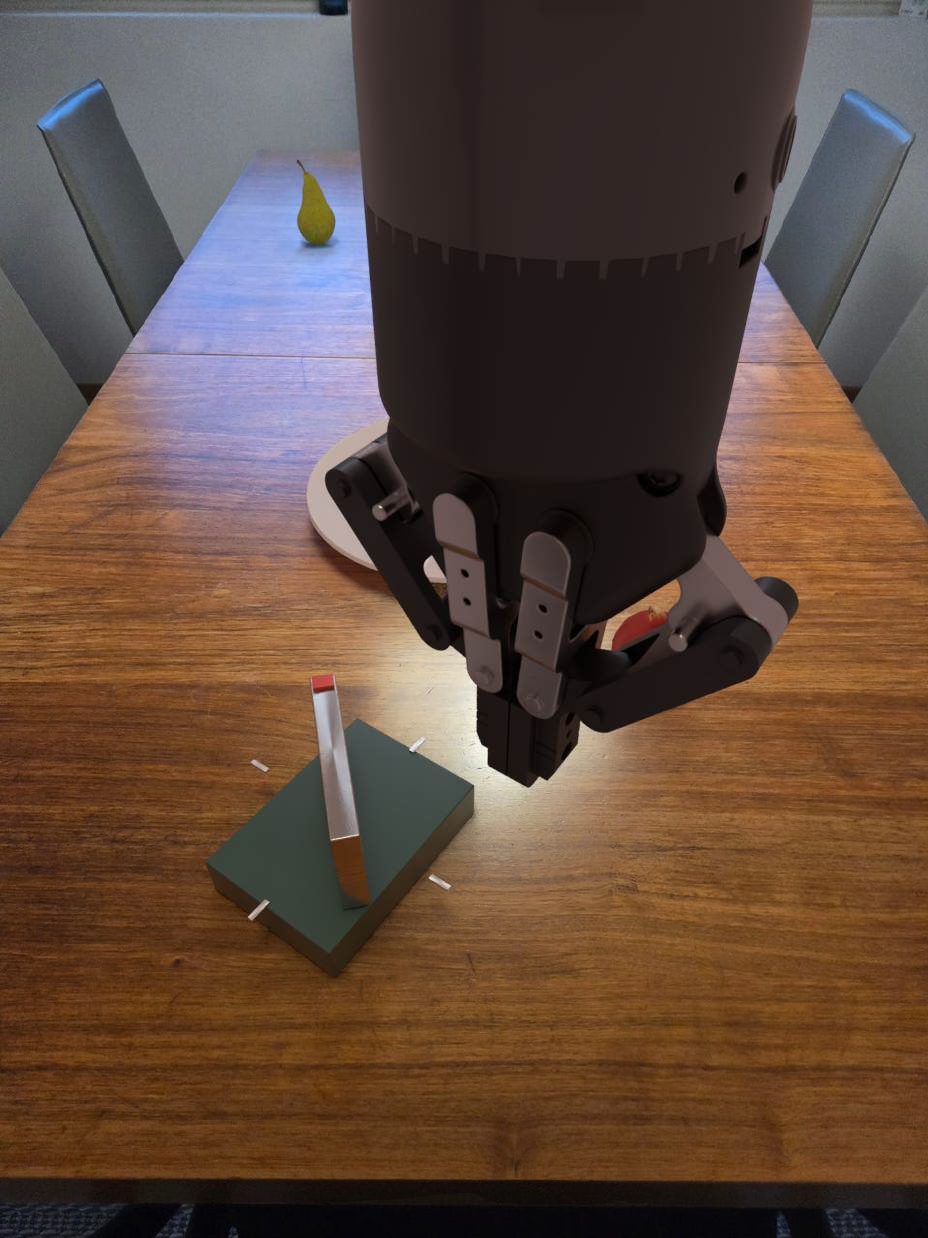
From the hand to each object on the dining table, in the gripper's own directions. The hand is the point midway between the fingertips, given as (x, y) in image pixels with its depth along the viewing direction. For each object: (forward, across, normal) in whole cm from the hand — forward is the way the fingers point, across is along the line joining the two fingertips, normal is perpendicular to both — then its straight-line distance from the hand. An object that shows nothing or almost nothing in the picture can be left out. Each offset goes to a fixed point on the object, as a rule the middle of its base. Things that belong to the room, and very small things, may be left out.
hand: (526, 760), depth 28 cm
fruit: (+27, -92, +86) cm, 129 cm away
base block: (+27, -16, +6) cm, 32 cm away
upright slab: (+24, -16, +6) cm, 29 cm away
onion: (+27, -7, +30) cm, 41 cm away
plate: (+27, -32, +40) cm, 58 cm away
